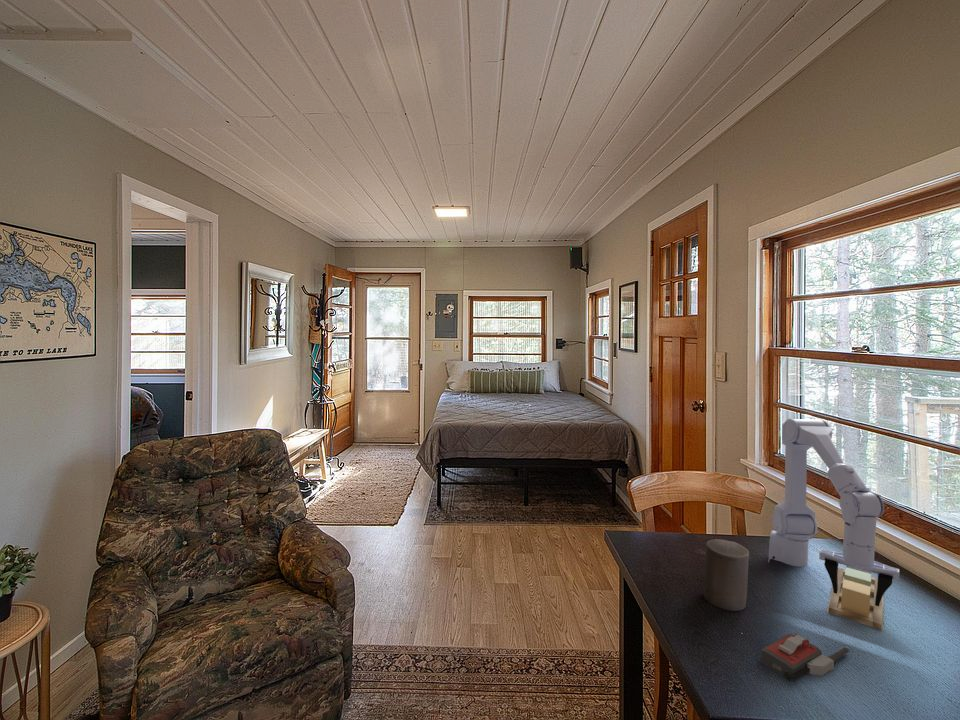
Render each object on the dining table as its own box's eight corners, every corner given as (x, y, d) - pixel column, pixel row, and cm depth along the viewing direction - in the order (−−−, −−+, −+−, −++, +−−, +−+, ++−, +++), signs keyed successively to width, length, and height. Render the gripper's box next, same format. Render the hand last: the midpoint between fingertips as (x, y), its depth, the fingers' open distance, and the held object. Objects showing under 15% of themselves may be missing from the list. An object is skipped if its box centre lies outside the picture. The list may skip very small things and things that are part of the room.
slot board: (826, 617, 109) (827, 607, 109) (835, 576, 128) (836, 567, 128) (882, 636, 102) (883, 624, 102) (883, 590, 121) (883, 580, 121)
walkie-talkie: (800, 693, 86) (852, 658, 96) (802, 670, 86) (854, 638, 96) (754, 663, 94) (806, 634, 104) (755, 642, 94) (807, 615, 103)
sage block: (843, 597, 115) (844, 574, 115) (844, 589, 119) (845, 567, 118) (869, 605, 112) (870, 581, 111) (870, 597, 115) (871, 573, 115)
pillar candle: (698, 600, 116) (700, 542, 115) (710, 584, 123) (712, 530, 122) (740, 616, 109) (744, 556, 108) (751, 599, 116) (754, 542, 115)
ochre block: (842, 602, 113) (844, 579, 112) (869, 611, 109) (870, 586, 109) (840, 611, 109) (842, 587, 109) (868, 620, 106) (869, 595, 105)
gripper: (819, 538, 110) (816, 593, 111) (900, 558, 100) (897, 618, 101) (822, 529, 115) (819, 581, 116) (900, 547, 106) (896, 604, 106)
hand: (855, 597), depth 109 cm, fingers open, 7 cm apart
